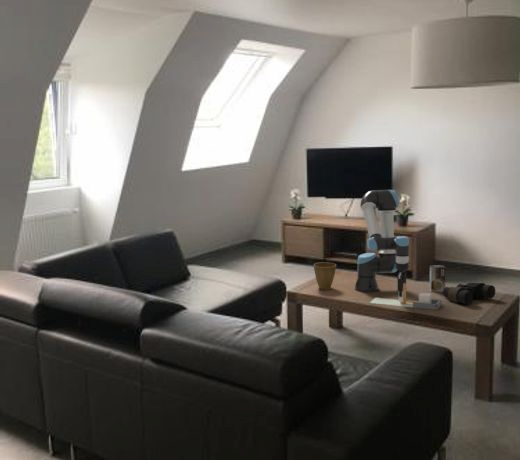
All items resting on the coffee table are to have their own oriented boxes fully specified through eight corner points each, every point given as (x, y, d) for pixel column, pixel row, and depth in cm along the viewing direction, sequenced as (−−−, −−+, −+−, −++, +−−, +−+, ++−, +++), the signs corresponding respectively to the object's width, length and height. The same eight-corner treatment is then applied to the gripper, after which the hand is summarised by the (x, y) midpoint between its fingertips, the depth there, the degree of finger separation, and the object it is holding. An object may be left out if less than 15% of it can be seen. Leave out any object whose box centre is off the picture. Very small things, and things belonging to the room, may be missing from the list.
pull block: (398, 304, 367) (398, 284, 366) (401, 301, 373) (400, 282, 371) (429, 306, 359) (428, 286, 358) (431, 303, 365) (431, 283, 363)
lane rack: (369, 303, 372) (369, 297, 372) (375, 298, 383) (375, 292, 382) (437, 311, 354) (437, 304, 354) (441, 305, 365) (441, 299, 364)
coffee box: (443, 289, 401) (444, 265, 398) (445, 291, 394) (446, 267, 392) (429, 289, 402) (429, 265, 399) (430, 291, 395) (431, 267, 393)
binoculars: (465, 307, 359) (464, 290, 358) (437, 302, 377) (436, 286, 376) (496, 298, 375) (495, 282, 374) (468, 294, 392) (467, 278, 391)
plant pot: (310, 289, 407) (310, 266, 404) (317, 284, 420) (317, 261, 418) (332, 291, 401) (332, 267, 398) (338, 286, 415) (338, 262, 412)
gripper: (405, 265, 357) (404, 305, 360) (411, 260, 371) (411, 297, 375) (392, 264, 360) (391, 303, 364) (399, 259, 375) (398, 296, 378)
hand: (401, 300), depth 369 cm, fingers closed on pull block, 4 cm apart
